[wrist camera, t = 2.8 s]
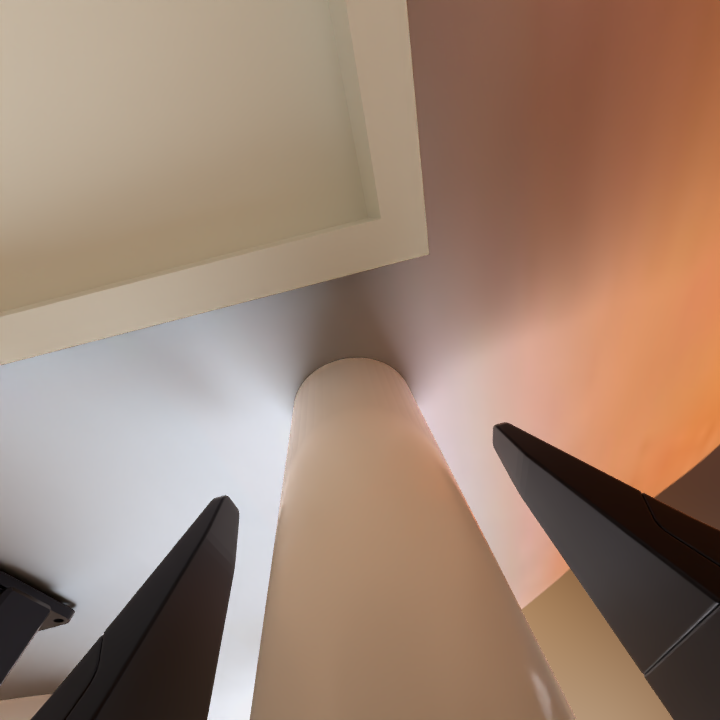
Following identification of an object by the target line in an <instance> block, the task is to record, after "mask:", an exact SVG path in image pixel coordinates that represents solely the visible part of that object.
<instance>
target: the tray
mask: <svg viewBox="0 0 720 720" xmlns="http://www.w3.org/2000/svg"><path fill="white" fill-rule="evenodd" d="M425 255H429V247H428V235H427V224H426V213H425V202H424V191H423V180H422V169H421V157H420V146H419V135H418V124H417V113H416V102H415V90H414V79H413V68H412V57H411V46H410V35H409V24H408V12H407V1H406V0H0V365H4V364H8V363H11V362H15V361H19V360H23V359H27V358H31V357H35V356H38V355H42V354H46V353H50V352H54V351H58V350H62V349H66V348H69V347H73V346H77V345H81V344H85V343H89V342H93V341H96V340H100V339H104V338H108V337H112V336H116V335H120V334H124V333H127V332H131V331H135V330H139V329H143V328H147V327H151V326H154V325H158V324H162V323H166V322H170V321H174V320H178V319H182V318H185V317H189V316H193V315H197V314H201V313H205V312H209V311H212V310H216V309H220V308H224V307H228V306H232V305H236V304H240V303H243V302H247V301H251V300H255V299H259V298H263V297H267V296H270V295H274V294H278V293H282V292H286V291H290V290H294V289H297V288H301V287H305V286H309V285H313V284H317V283H321V282H325V281H328V280H332V279H336V278H340V277H344V276H348V275H352V274H355V273H359V272H363V271H367V270H371V269H375V268H379V267H383V266H386V265H390V264H394V263H398V262H402V261H406V260H410V259H413V258H417V257H421V256H425Z"/></svg>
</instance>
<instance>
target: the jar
mask: <svg viewBox="0 0 720 720" xmlns="http://www.w3.org/2000/svg"><path fill="white" fill-rule="evenodd" d="M250 720H577V719H576V717H575V715H574V713H573V711H572V709H571V707H570V705H569V703H568V701H567V699H566V697H565V695H564V693H563V691H562V689H561V687H560V685H559V683H558V681H557V679H556V677H555V675H554V673H553V671H552V669H551V667H550V665H549V663H548V661H547V660H546V657H545V655H544V653H543V652H542V650H541V647H540V646H539V644H538V642H537V640H536V638H535V636H534V634H533V632H532V630H531V628H530V626H529V624H528V622H527V620H526V618H525V616H524V614H523V612H522V610H521V608H520V606H519V604H518V602H517V600H516V598H515V596H514V594H513V592H512V590H511V588H510V586H509V584H508V582H507V580H506V578H505V576H504V575H503V573H502V571H501V569H500V567H499V565H498V563H497V561H496V559H495V557H494V555H493V553H492V551H491V549H490V547H489V545H488V543H487V541H486V539H485V537H484V535H483V533H482V531H481V529H480V527H479V525H478V523H477V521H476V519H475V517H474V515H473V513H472V511H471V509H470V507H469V505H468V504H467V502H466V500H465V498H464V496H463V494H462V492H461V490H460V488H459V486H458V484H457V482H456V480H455V478H454V476H453V474H452V472H451V470H450V468H449V466H448V464H447V462H446V460H445V458H444V456H443V454H442V452H441V450H440V448H439V446H438V444H437V442H436V440H435V438H434V436H433V434H432V433H431V431H430V429H429V427H428V425H427V423H426V421H425V419H424V417H423V415H422V413H421V411H420V409H419V407H418V405H417V403H416V401H415V399H414V397H413V395H412V393H411V391H410V389H409V387H408V385H407V383H406V382H405V380H404V378H403V377H402V376H401V375H400V374H399V373H398V372H397V371H396V370H395V369H394V368H392V367H390V366H389V365H387V364H385V363H383V362H380V361H377V360H374V359H369V358H356V357H355V358H345V359H340V360H337V361H334V362H331V363H328V364H326V365H324V366H322V367H320V368H319V369H317V370H316V371H314V372H313V373H312V374H311V375H309V377H308V378H307V379H306V380H305V381H304V382H303V383H302V385H301V386H300V388H299V390H298V392H297V394H296V397H295V401H294V408H293V415H292V422H291V429H290V436H289V443H288V450H287V457H286V465H285V472H284V479H283V486H282V493H281V500H280V507H279V515H278V522H277V529H276V536H275V543H274V550H273V557H272V564H271V572H270V579H269V586H268V593H267V600H266V607H265V614H264V622H263V629H262V636H261V643H260V650H259V657H258V664H257V672H256V679H255V686H254V693H253V700H252V707H251V714H250Z"/></svg>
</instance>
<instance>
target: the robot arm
mask: <svg viewBox="0 0 720 720" xmlns="http://www.w3.org/2000/svg"><path fill="white" fill-rule="evenodd" d="M493 446H494V448H495V451H496V452H497V454H498V456H499V458H500V460H501V461H502V463H503V465H504V467H505V469H506V471H507V472H508V474H509V476H510V478H511V480H512V482H513V483H514V485H515V487H516V489H517V490H518V492H519V494H520V495H521V497H522V498H523V500H524V501H525V503H526V504H527V506H528V507H529V509H530V510H531V512H532V513H533V515H534V516H535V518H536V519H537V520H538V522H539V523H540V525H541V526H542V528H543V529H544V531H545V532H546V534H547V535H548V537H549V538H550V539H551V541H552V542H553V544H554V545H555V547H556V548H557V550H558V551H559V553H560V554H561V555H562V557H563V558H564V560H565V561H566V563H567V564H568V566H569V567H570V569H571V570H572V571H573V573H574V574H575V576H576V577H577V579H578V580H579V582H580V583H581V585H582V586H583V588H584V589H585V591H586V592H587V593H588V595H589V596H590V598H591V599H592V601H593V602H594V604H595V605H596V607H597V608H598V609H599V611H600V612H601V614H602V615H603V617H604V618H605V620H606V621H607V623H608V624H609V626H610V627H611V628H612V630H613V631H614V633H615V634H616V636H617V637H618V638H619V640H620V642H621V643H622V645H623V646H624V647H625V649H626V650H627V652H628V653H629V655H630V656H631V658H632V659H633V660H634V662H635V663H636V665H637V666H638V668H639V669H640V671H641V672H642V673H643V674H644V677H645V678H646V680H647V681H648V683H649V684H650V686H651V687H652V689H653V690H654V692H655V693H656V695H657V696H658V697H659V699H660V700H661V702H662V703H663V705H664V706H665V707H666V709H667V711H668V712H669V713H670V715H671V716H672V718H673V719H674V720H720V530H718V529H716V528H714V527H712V526H710V525H708V524H705V523H703V522H701V521H699V520H697V519H695V518H693V517H691V516H688V515H686V514H685V513H683V512H681V511H679V510H676V509H674V508H672V507H670V506H668V505H666V504H664V503H662V502H660V501H659V500H657V499H655V498H653V497H651V496H649V495H647V494H645V493H641V492H640V491H639V490H637V489H635V488H633V487H631V486H629V485H627V484H626V483H624V482H622V481H620V480H618V479H616V478H614V477H612V476H610V475H608V474H606V473H604V472H602V471H600V470H598V469H597V468H595V467H593V466H591V465H589V464H587V463H585V462H583V461H581V460H579V459H577V458H575V457H573V456H571V455H569V454H568V453H566V452H564V451H562V450H560V449H558V448H556V447H554V446H552V445H550V444H548V443H546V442H544V441H542V440H540V439H539V438H537V437H535V436H533V435H531V434H529V433H527V432H525V431H523V430H521V429H519V428H517V427H515V426H513V425H511V424H509V423H507V422H504V423H500V424H496V425H494V427H493ZM238 526H239V511H238V508H237V507H236V506H235V504H234V503H233V502H232V500H231V499H230V498H229V497H228V496H226V495H225V496H221V497H217V498H214V499H213V500H212V501H211V502H210V503H209V504H208V506H207V507H206V508H205V509H204V510H203V512H202V513H201V514H200V515H199V517H198V518H197V519H196V520H195V522H194V523H193V524H192V525H191V526H190V528H189V529H188V530H187V531H186V533H185V534H184V535H183V536H182V537H181V539H180V540H179V541H178V542H177V544H176V545H175V546H174V547H173V548H172V550H171V551H170V552H169V553H168V555H167V556H166V557H165V558H164V560H163V561H162V562H161V563H160V564H159V566H158V567H157V568H156V569H155V571H154V572H153V573H152V574H151V575H150V577H149V578H148V579H147V580H146V582H145V583H144V584H143V585H142V586H141V588H140V589H139V590H138V591H137V593H136V594H135V595H134V596H133V598H132V599H131V600H130V601H129V602H128V604H127V605H126V606H125V607H124V609H123V610H122V611H121V612H120V613H119V615H118V616H117V617H116V618H115V620H114V621H113V622H112V623H111V624H110V626H109V627H108V628H107V629H106V631H105V632H104V635H102V636H101V637H100V638H99V639H98V640H97V642H96V643H95V644H94V645H93V646H92V648H91V649H90V650H89V651H88V653H87V654H86V655H85V656H84V657H83V659H82V660H81V661H80V662H79V663H78V665H77V666H76V667H75V668H74V669H73V671H72V672H71V673H70V674H69V675H68V677H67V678H66V679H65V680H64V681H63V683H62V684H61V685H60V686H59V687H58V688H57V690H56V691H55V692H54V693H53V694H52V695H51V696H50V698H49V699H48V700H47V701H46V702H45V703H44V704H43V706H42V707H41V708H40V709H39V710H38V711H37V712H36V714H35V715H34V716H33V717H32V718H31V719H30V720H207V717H208V712H209V706H210V701H211V695H212V690H213V684H214V679H215V673H216V668H217V662H218V657H219V651H220V646H221V640H222V635H223V630H224V624H225V619H226V613H227V608H228V602H229V597H230V591H231V586H232V580H233V575H234V569H235V560H236V549H237V537H238ZM74 613H75V611H74V610H73V609H71V608H69V607H68V606H66V605H64V604H62V603H60V602H58V601H56V600H55V599H53V598H51V597H49V596H47V595H45V594H43V593H42V592H40V591H38V590H36V589H34V588H32V587H30V586H29V585H27V584H25V583H23V582H21V581H19V580H17V579H16V578H14V577H12V576H10V575H8V574H6V573H4V572H3V571H1V570H0V686H1V685H2V683H3V682H4V680H5V679H6V677H7V676H8V674H9V673H10V671H11V670H12V668H13V667H14V665H15V664H16V662H17V661H18V659H19V658H20V656H21V655H22V654H23V652H24V651H25V649H26V648H27V646H28V645H29V643H30V642H31V640H32V639H33V637H34V636H35V634H36V633H37V631H41V630H44V629H48V628H52V627H56V626H60V625H63V624H66V623H68V622H69V621H70V620H71V618H72V616H73V615H74Z"/></svg>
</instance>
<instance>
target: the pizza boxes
mask: <svg viewBox="0 0 720 720" xmlns="http://www.w3.org/2000/svg"><path fill="white" fill-rule="evenodd" d="M51 695H52V694H45V695H38V696H30V697H23V698H15V699H7V700H0V720H30V719H31V718H32V717H33V716H34V715H35V714H36V712H37V711H38V710H39V709H40V708H41V707H42V706H43V704H44V703H45V702H46V701H47V700H48V699H49V698H50V696H51Z"/></svg>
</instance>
